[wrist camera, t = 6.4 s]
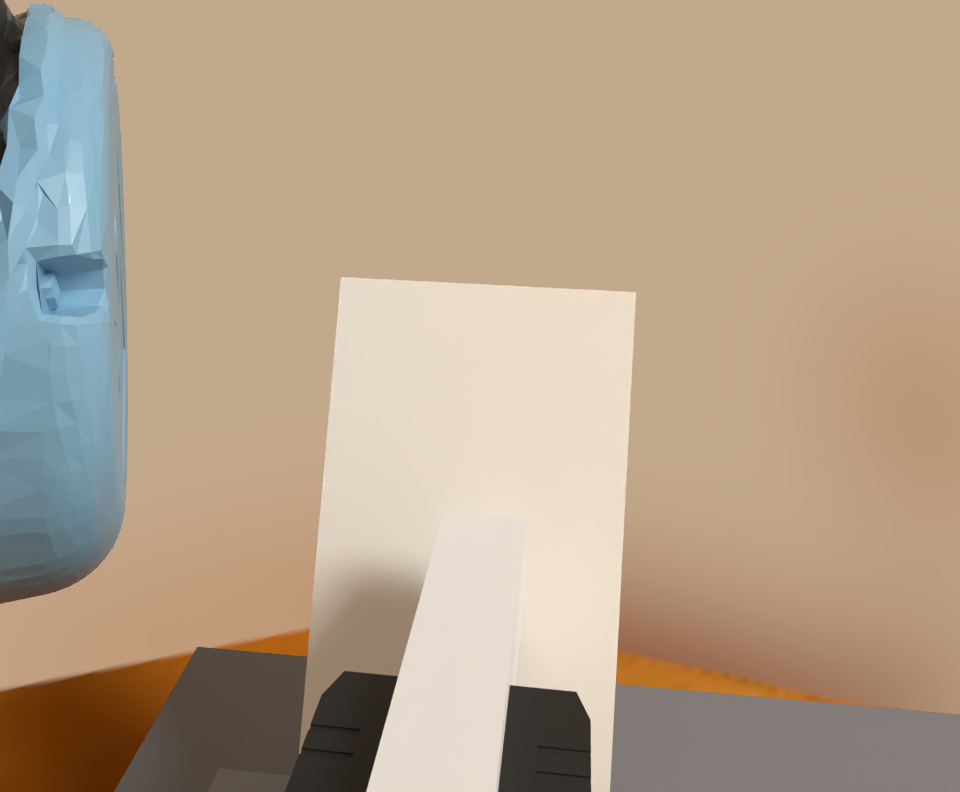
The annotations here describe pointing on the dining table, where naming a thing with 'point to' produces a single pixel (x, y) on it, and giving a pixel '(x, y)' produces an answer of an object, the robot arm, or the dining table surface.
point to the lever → (476, 473)
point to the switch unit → (635, 749)
